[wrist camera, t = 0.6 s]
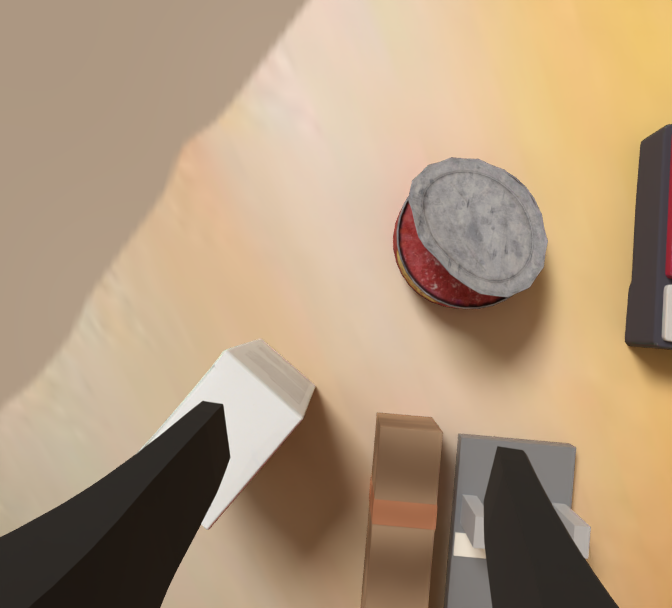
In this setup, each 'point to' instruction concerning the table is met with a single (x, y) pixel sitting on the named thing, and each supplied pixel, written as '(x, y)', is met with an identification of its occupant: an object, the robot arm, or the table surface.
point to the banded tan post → (402, 512)
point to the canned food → (469, 235)
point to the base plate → (468, 509)
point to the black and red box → (652, 247)
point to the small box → (248, 412)
